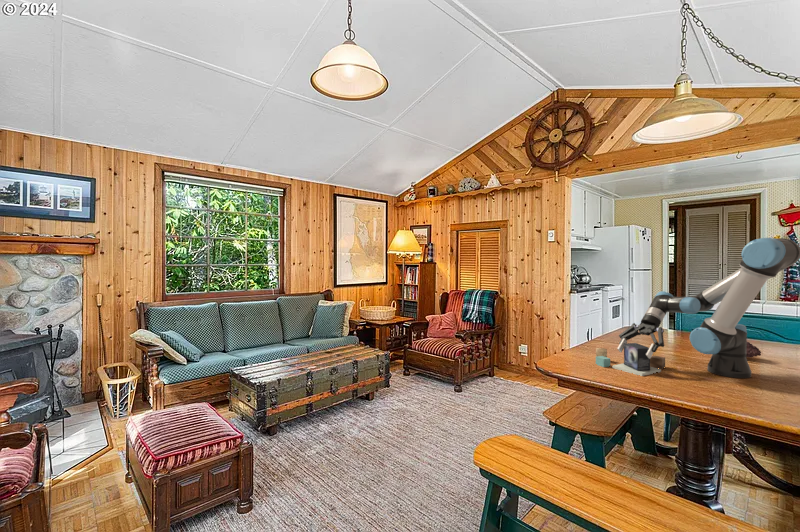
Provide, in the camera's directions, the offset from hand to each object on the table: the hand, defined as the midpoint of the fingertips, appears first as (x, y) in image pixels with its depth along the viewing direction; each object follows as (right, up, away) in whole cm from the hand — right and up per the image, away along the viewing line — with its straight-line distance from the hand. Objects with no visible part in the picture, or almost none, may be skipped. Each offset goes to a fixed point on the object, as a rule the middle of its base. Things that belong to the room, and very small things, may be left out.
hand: (633, 353), depth 178 cm
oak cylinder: (-6, -8, +17) cm, 20 cm away
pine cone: (+68, -7, +19) cm, 71 cm away
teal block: (-9, -8, +9) cm, 15 cm away
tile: (+2, -8, +1) cm, 8 cm away
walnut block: (+15, -8, +5) cm, 17 cm away
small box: (+2, -7, +1) cm, 7 cm away
